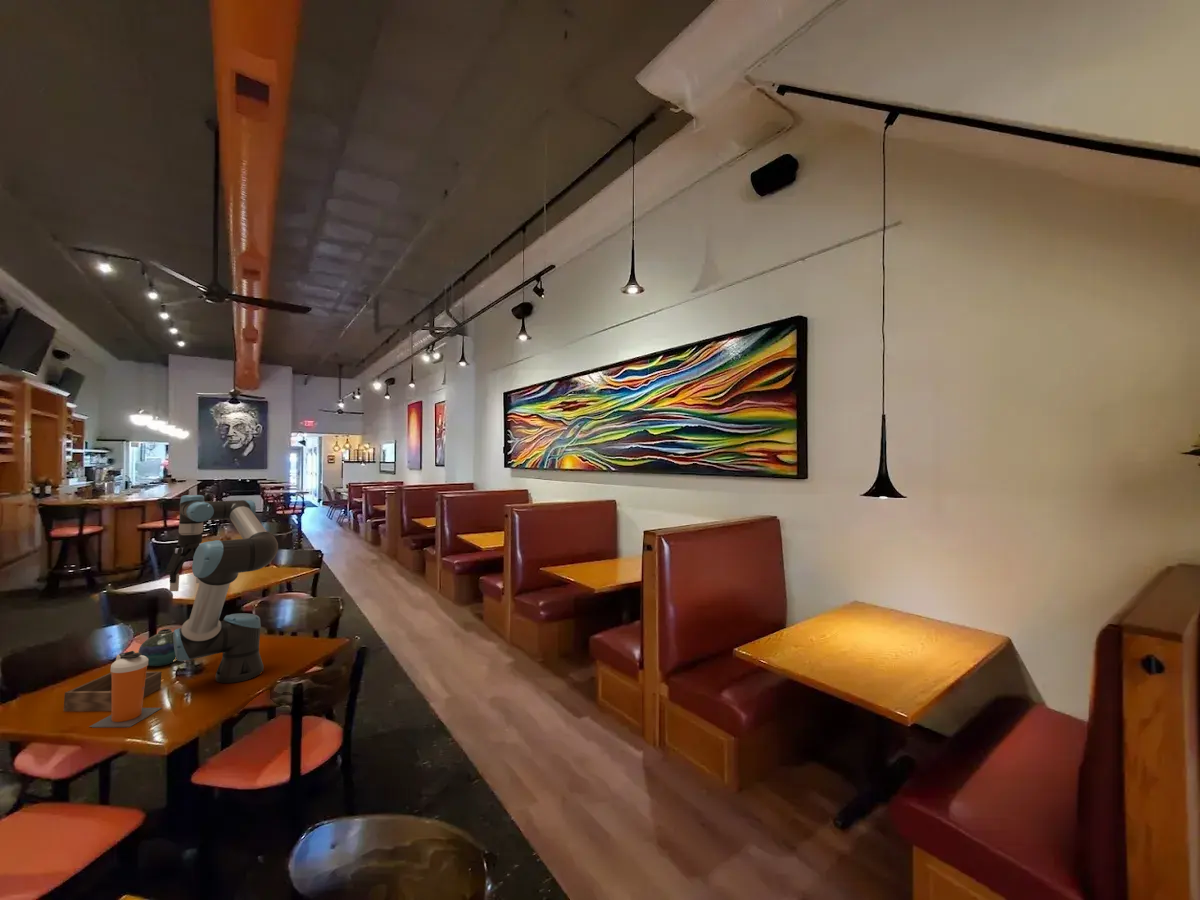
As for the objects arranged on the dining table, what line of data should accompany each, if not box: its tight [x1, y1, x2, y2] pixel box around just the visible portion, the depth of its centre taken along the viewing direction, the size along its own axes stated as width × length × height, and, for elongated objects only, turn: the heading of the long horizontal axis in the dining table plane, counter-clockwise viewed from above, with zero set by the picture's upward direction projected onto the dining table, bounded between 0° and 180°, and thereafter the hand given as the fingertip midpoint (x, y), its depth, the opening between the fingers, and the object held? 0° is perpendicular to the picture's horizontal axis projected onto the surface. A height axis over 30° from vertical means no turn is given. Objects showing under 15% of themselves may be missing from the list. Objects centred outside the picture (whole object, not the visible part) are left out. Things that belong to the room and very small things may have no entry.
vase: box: [137, 628, 176, 667], centre depth 203 cm, size 15×15×13 cm
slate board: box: [88, 707, 163, 729], centre depth 160 cm, size 12×12×1 cm
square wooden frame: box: [63, 671, 162, 712], centre depth 172 cm, size 17×17×6 cm
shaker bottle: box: [109, 650, 149, 722], centre depth 160 cm, size 9×9×20 cm
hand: (187, 587), depth 198 cm, fingers open, 13 cm apart
